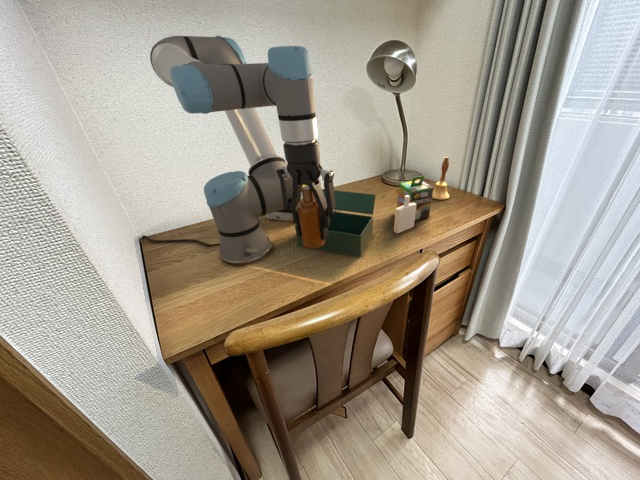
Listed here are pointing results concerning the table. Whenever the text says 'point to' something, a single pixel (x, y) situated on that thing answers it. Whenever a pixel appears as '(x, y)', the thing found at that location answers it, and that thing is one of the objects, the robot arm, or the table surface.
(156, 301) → the table surface
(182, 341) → the table surface
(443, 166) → the hand bell
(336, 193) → the flap
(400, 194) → the chalk box
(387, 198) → the table surface
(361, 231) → the carton
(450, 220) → the table surface
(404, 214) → the perfume bottle
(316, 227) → the amber bottle
